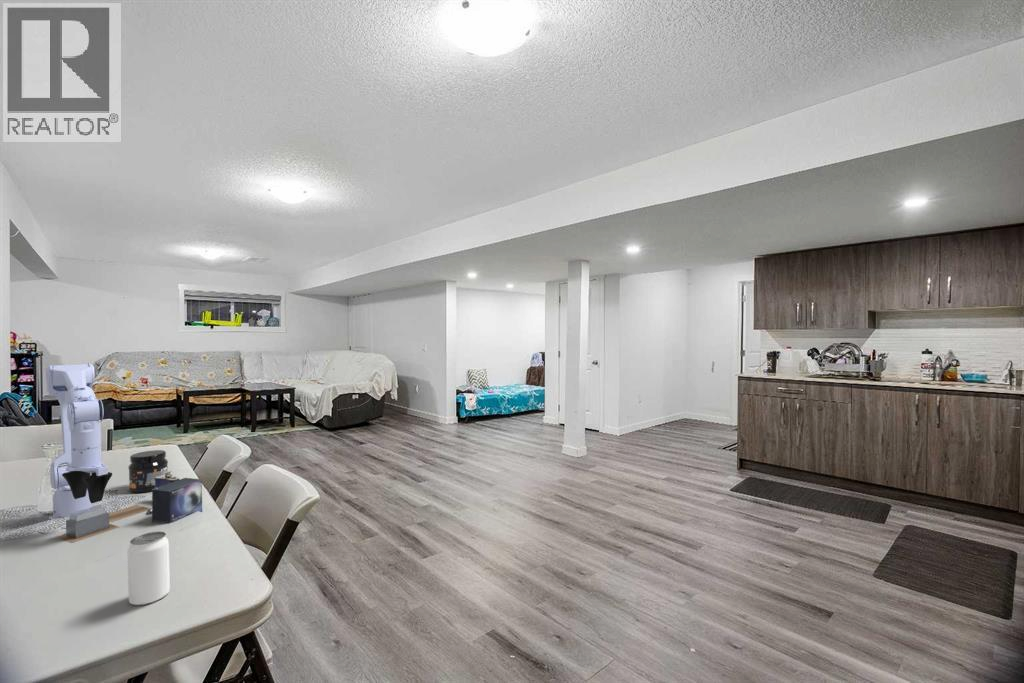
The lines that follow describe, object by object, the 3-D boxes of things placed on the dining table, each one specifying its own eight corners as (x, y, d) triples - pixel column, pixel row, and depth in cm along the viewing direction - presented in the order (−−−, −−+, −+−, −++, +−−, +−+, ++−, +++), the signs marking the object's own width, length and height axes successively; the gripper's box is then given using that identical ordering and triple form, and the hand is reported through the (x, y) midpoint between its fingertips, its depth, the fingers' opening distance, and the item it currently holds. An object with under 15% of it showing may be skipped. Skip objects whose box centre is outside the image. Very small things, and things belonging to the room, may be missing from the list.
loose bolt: (145, 520, 130) (145, 511, 130) (153, 516, 133) (153, 507, 133) (166, 520, 130) (165, 511, 130) (173, 516, 133) (173, 507, 133)
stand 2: (95, 522, 129) (95, 517, 129) (136, 509, 138) (136, 504, 138) (111, 527, 126) (111, 521, 126) (152, 513, 135) (152, 508, 135)
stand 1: (55, 543, 116) (55, 537, 116) (103, 527, 126) (103, 522, 126) (72, 548, 113) (71, 542, 113) (120, 532, 122) (120, 526, 122)
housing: (66, 535, 117) (65, 514, 117) (100, 525, 123) (99, 504, 123) (75, 539, 115) (75, 516, 115) (109, 528, 122) (108, 506, 122)
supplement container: (128, 488, 158) (127, 453, 157) (166, 481, 165) (165, 448, 164) (130, 496, 150) (129, 459, 149) (170, 488, 157) (169, 453, 157)
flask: (153, 506, 141) (152, 471, 141) (163, 503, 144) (162, 468, 143) (174, 510, 138) (173, 474, 138) (184, 506, 141) (183, 471, 140)
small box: (170, 529, 124) (169, 490, 124) (150, 527, 125) (149, 489, 125) (204, 514, 135) (203, 478, 134) (185, 512, 136) (184, 477, 136)
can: (144, 588, 95) (142, 531, 95) (177, 587, 96) (175, 529, 95) (120, 607, 89) (118, 545, 88) (155, 605, 89) (154, 544, 89)
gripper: (51, 448, 118) (52, 501, 118) (82, 454, 112) (84, 509, 113) (85, 442, 125) (87, 492, 125) (116, 447, 119) (118, 499, 119)
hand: (87, 499), depth 119 cm, fingers open, 7 cm apart
